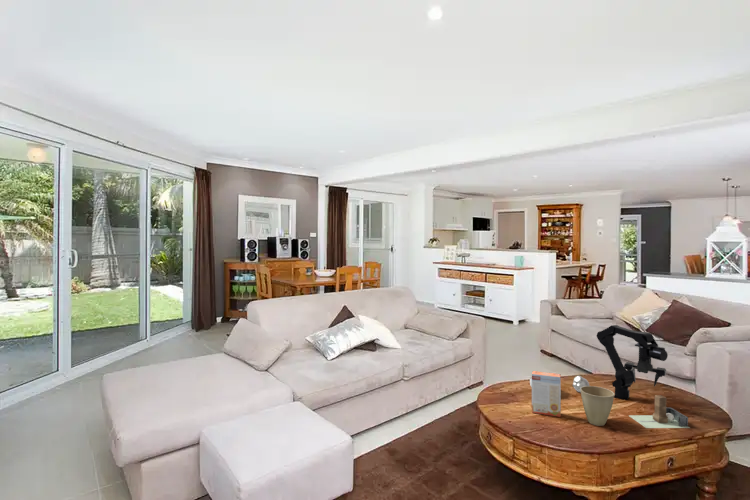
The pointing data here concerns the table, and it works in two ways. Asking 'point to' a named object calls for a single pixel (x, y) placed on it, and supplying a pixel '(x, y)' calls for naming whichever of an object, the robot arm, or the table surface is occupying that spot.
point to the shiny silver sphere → (579, 383)
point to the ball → (670, 417)
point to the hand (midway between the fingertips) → (644, 384)
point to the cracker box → (546, 393)
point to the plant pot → (597, 404)
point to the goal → (678, 417)
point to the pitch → (654, 422)
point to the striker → (660, 409)
